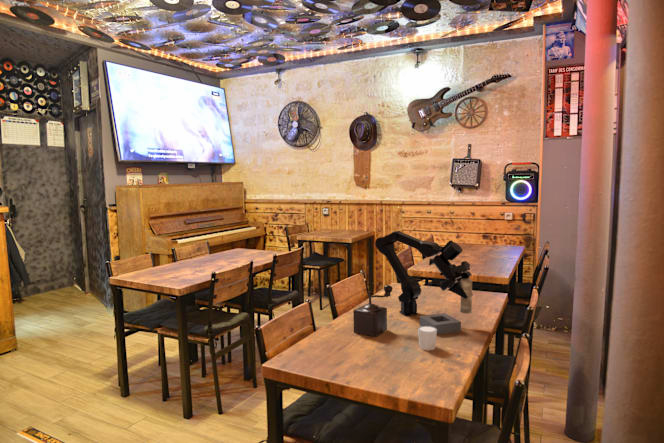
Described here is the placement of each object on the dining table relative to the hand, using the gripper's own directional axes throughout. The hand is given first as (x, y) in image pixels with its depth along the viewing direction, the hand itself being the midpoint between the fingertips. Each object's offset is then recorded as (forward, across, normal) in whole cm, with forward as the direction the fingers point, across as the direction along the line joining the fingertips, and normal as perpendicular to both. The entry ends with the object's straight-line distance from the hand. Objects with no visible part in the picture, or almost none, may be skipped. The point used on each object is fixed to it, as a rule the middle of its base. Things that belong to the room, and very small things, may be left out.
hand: (469, 296), depth 174 cm
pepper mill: (-11, -27, +30) cm, 42 cm away
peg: (+4, 0, +6) cm, 7 cm away
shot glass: (+8, -30, +11) cm, 33 cm away
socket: (+3, -9, +15) cm, 18 cm away
